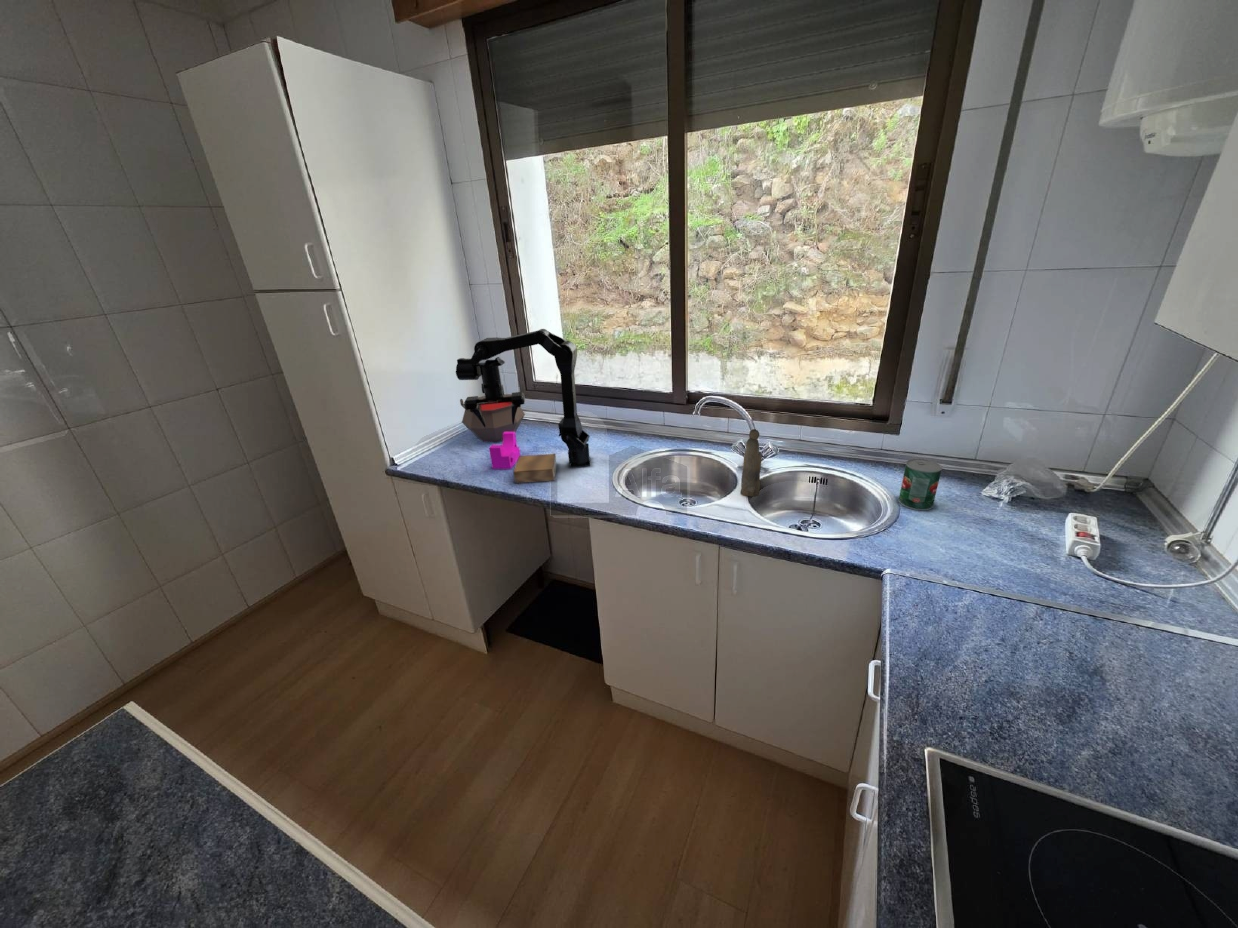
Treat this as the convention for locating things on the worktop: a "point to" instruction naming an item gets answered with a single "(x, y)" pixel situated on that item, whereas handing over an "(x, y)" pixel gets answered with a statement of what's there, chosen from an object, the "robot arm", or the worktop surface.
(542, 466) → the plinth
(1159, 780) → the worktop surface
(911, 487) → the canned tomato
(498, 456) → the toy block
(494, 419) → the brown faceted pot
